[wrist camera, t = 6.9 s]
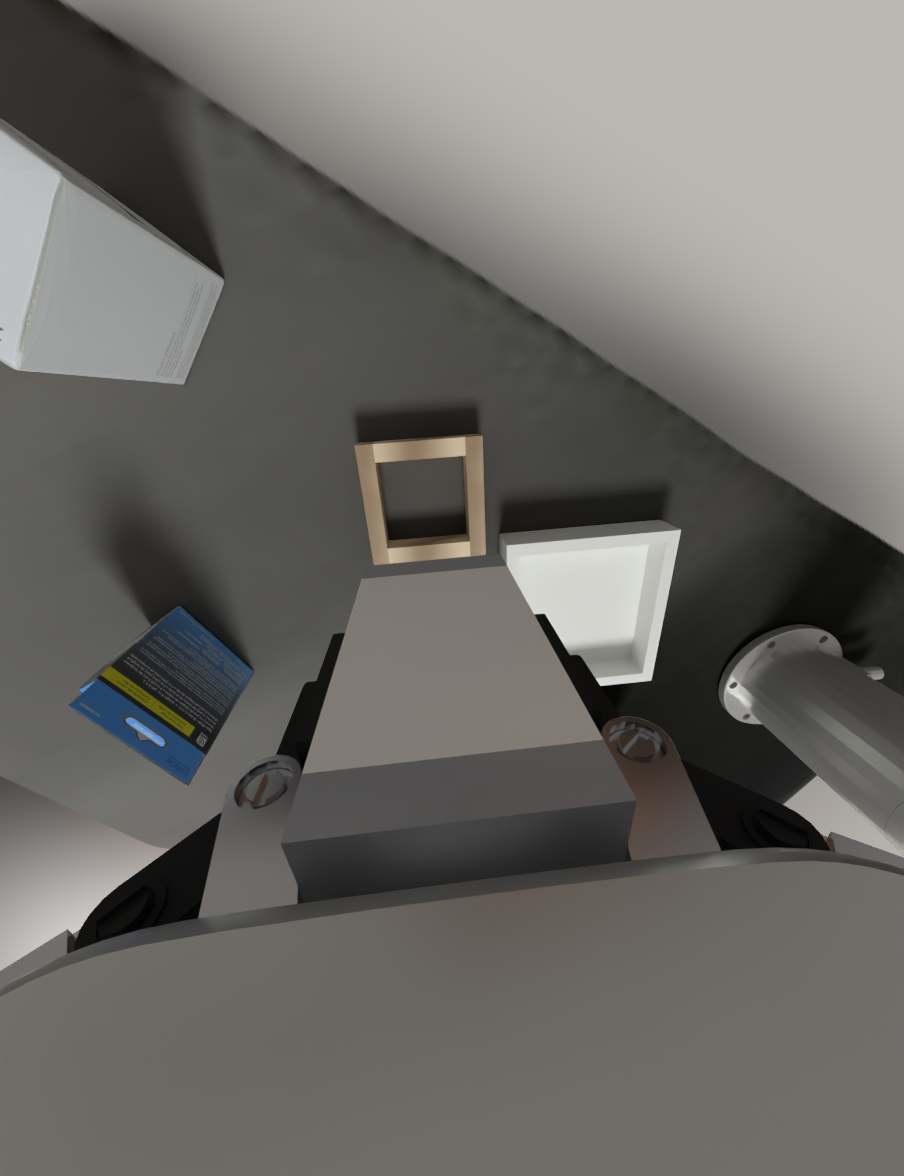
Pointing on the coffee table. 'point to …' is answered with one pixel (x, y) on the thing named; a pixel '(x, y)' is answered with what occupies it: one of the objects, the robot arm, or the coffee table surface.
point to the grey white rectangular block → (450, 744)
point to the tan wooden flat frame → (413, 450)
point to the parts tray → (599, 590)
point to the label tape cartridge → (167, 693)
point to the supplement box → (91, 277)
